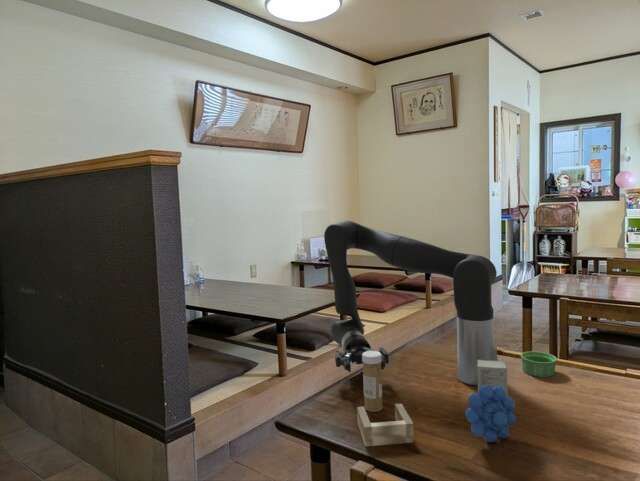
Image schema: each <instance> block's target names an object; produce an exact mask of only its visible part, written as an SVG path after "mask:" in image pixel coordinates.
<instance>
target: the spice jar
mask: <svg viewBox="0 0 640 481" xmlns="http://www.w3.org/2000/svg"><path fill="white" fill-rule="evenodd" d="M377 351H378V350H374V351H366V352H364V353H363V354H362V362H363V364H362V370H363V371H362V372H363V374H362V377H363V378H362V380H363V398H364V402H363V403H364V404H363V407H364V408H365V411H366V412H367V411H368V412H371V413H376V412H377V413H378V412H380V411H382V410H383V409H384V405H383V382H382V380H383V378H382V369H381V361H382V356H381V353H380V352H377Z"/></svg>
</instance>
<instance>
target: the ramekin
mask: <svg viewBox="0 0 640 481" xmlns="http://www.w3.org/2000/svg"><path fill="white" fill-rule="evenodd" d="M520 358H521V367H522V371H523V372H524V373H525V374H527V375H529V376H532V377H538V378H539V377H540V378H542V377H543V378H547V377H548V378H549V377H553V376H554V375H555V373H556V364H557V360H558V358H557V357H556V356H555V355H553V354H551V353H547V352H545V351H544V352H543V351H532V350H531V351H524V352H522V353H521V354H520Z"/></svg>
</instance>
